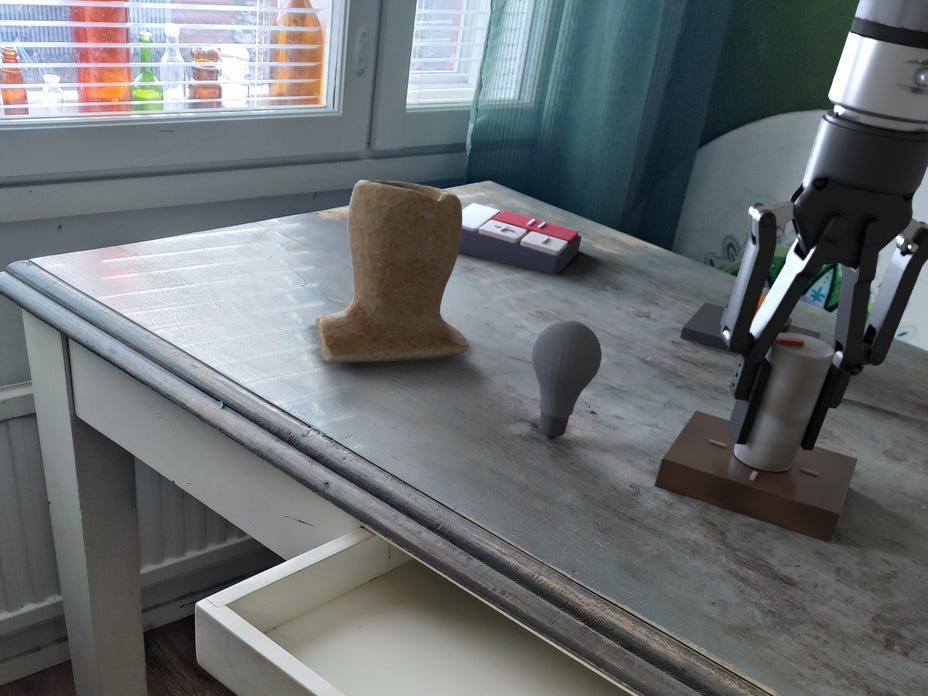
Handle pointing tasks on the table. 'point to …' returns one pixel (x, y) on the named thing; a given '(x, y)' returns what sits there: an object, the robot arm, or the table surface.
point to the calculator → (517, 239)
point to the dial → (786, 401)
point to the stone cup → (397, 275)
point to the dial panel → (757, 479)
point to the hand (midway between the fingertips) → (769, 438)
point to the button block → (710, 322)
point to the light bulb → (563, 371)
